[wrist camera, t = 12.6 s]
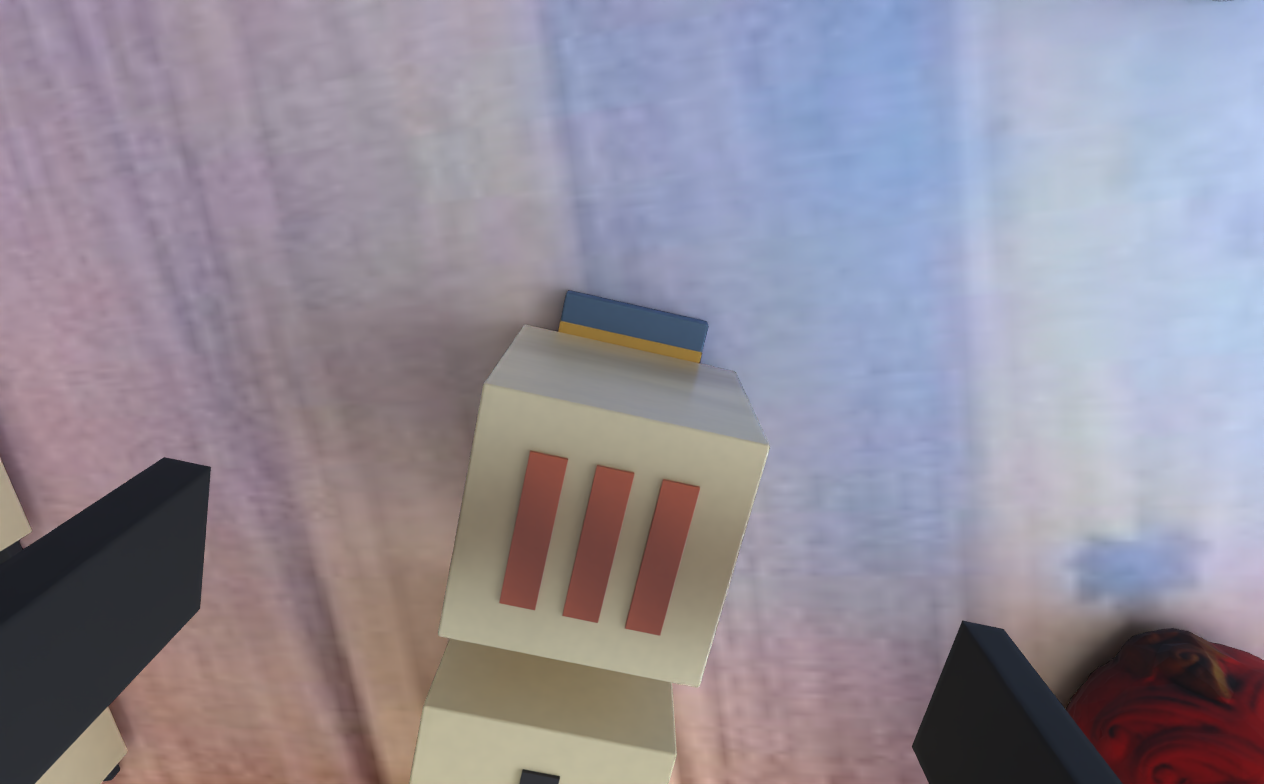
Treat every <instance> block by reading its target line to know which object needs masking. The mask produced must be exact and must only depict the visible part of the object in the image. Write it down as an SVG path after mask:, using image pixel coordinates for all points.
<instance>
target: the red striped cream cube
mask: <svg viewBox="0 0 1264 784" xmlns="http://www.w3.org/2000/svg"><path fill="white" fill-rule="evenodd" d="M769 449H770V445H769V443H768V441H767V438H766V436H765V434H764V432H763V430H762V428H761V426H760V423H759V421H758V419H757V417H756V415H755V413H754V411H753V408H752V406H751V404H750V402H749V400H748V398H747V396H746V393H745V391H744V389H743V387H742V385H741V383H740V380H739V378H738V376H737V374H736V372H735V371H731V370H727V369H722V368H718V367H713V366H709V365H705V364H700V363H696V362H691V361H687V360H682V359H678V358H673V357H669V356H664V355H660V354H655V353H651V352H646V351H642V350H637V349H633V348H628V347H624V346H619V345H615V344H610V343H606V342H602V341H597V340H593V339H588V338H584V337H579V336H575V335H570V334H566V333H561V332H557V331H552V330H548V329H543V328H539V327H534V326H530V325H524V326H523V327H522V329H521V330H520V332H519V333H518V335H517V336H516V337H515V339H514V340H513V342H512V343H511V345H510V346H509V348H508V349H507V351H506V352H505V353H504V355H503V356H502V358H501V359H500V361H499V362H498V364H497V365H496V367H495V368H494V369H493V371H492V372H491V374H490V375H489V377H488V378H487V380H486V381H485V383H484V384H483V387H482V393H481V398H480V404H479V409H478V415H477V420H476V426H475V431H474V437H473V442H472V448H471V453H470V459H469V464H468V470H467V475H466V481H465V486H464V492H463V497H462V503H461V509H460V514H459V520H458V525H457V531H456V536H455V542H454V547H453V553H452V558H451V564H450V569H449V575H448V580H447V586H446V591H445V597H444V602H443V608H442V613H441V619H440V624H439V630H438V635H439V636H441V637H446V638H451V639H456V640H461V641H466V642H471V643H476V644H481V645H486V646H491V647H496V648H501V649H506V650H511V651H516V652H521V653H526V654H531V655H536V656H541V657H546V658H551V659H556V660H561V661H566V662H571V663H576V664H581V665H586V666H591V667H596V668H602V669H607V670H612V671H617V672H622V673H627V674H632V675H637V676H642V677H647V678H652V679H657V680H662V681H667V682H672V683H677V684H682V685H687V686H692V687H699V686H700V683H701V680H702V677H703V673H704V670H705V666H706V663H707V660H708V656H709V653H710V649H711V646H712V643H713V639H714V636H715V632H716V629H717V626H718V622H719V619H720V615H721V612H722V609H723V605H724V602H725V598H726V595H727V592H728V588H729V585H730V582H731V578H732V575H733V571H734V568H735V565H736V561H737V558H738V554H739V551H740V548H741V544H742V541H743V537H744V534H745V531H746V527H747V524H748V520H749V517H750V514H751V510H752V507H753V503H754V500H755V497H756V493H757V490H758V486H759V483H760V480H761V476H762V473H763V469H764V466H765V463H766V459H767V456H768V453H769Z"/></svg>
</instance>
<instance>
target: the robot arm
mask: <svg viewBox="0 0 1264 784" xmlns="http://www.w3.org/2000/svg"><path fill="white" fill-rule="evenodd" d="M210 471H211V467H209V466H204V465H199V464H194V463H190V462H185V461H180V460H175V459H170V458H165V457H164V458H162V459H161V460H159V461H158V462H156V463H155V464H153V465H151V466H150V467H148V468H147V469H145V470H144V471H142V472H141V473H139V474H138V475H136V476H135V477H133V478H132V479H130V480H129V481H127V482H126V483H124V484H122V485H121V486H119V487H118V488H116V489H115V490H113V491H112V492H110V493H109V494H107V495H106V496H104V497H103V498H101V499H100V500H98V501H97V502H95V503H94V504H92V505H90V506H89V507H87V508H86V509H84V510H83V511H81V512H80V513H78V514H77V515H75V516H74V517H72V518H71V519H69V520H68V521H66V522H65V523H63V524H61V525H60V526H58V527H57V528H55V529H54V530H52V531H51V532H49V533H48V534H46V535H45V536H43V537H42V538H40V539H39V540H37V541H36V542H34V543H32V544H31V545H29V546H28V547H26V548H25V549H23V550H22V551H20V552H19V553H17V554H16V555H14V556H13V557H11V558H10V559H8V560H7V561H5V562H3V563H2V564H0V784H35V783H36V782H37V781H38V780H39V779H40V778H41V777H42V776H43V775H44V774H45V773H46V771H47V770H48V769H49V768H50V767H51V766H52V765H53V764H54V763H55V762H56V761H57V760H58V759H59V758H60V757H61V756H62V755H63V753H64V752H65V751H66V750H67V749H68V748H69V747H70V746H71V745H72V744H73V743H74V742H75V741H76V740H77V739H78V738H79V737H80V735H81V734H82V733H83V732H84V731H85V730H86V729H87V728H88V727H89V726H90V725H91V724H92V723H93V722H94V721H95V720H96V719H97V717H98V716H99V715H100V714H101V713H102V712H103V711H104V710H105V709H106V708H107V707H108V706H109V705H110V704H111V703H112V702H113V701H114V699H115V698H116V697H117V696H118V695H119V694H120V693H121V692H122V691H123V690H124V689H125V688H126V687H127V686H128V685H129V684H130V683H131V681H132V680H133V679H134V678H135V677H136V676H137V675H138V674H139V673H140V672H141V671H142V670H143V669H144V668H145V667H146V666H147V665H148V663H149V662H150V661H151V660H152V659H153V658H154V657H155V656H156V655H157V654H158V653H159V652H160V651H161V650H162V649H163V648H164V646H165V645H166V644H167V643H168V642H169V641H170V640H171V639H172V638H173V637H174V636H175V635H176V634H177V633H178V632H179V631H180V630H181V628H182V627H183V626H184V625H185V624H186V623H187V622H188V621H189V620H190V619H191V618H192V617H193V616H194V615H195V614H196V613H197V612H198V610H199V609H200V602H201V589H202V576H203V563H204V550H205V537H206V524H207V510H208V497H209V484H210ZM912 748H913V750H914V752H915V754H916V756H917V759H918V761H919V763H920V765H921V767H922V769H923V771H924V774H925V776H926V778H927V780H928V782H929V784H1123V783H1122V782H1121V781H1120V779H1119V778H1118V777H1117V776H1116V774H1115V773H1114V772H1113V770H1112V769H1111V768H1110V766H1109V765H1108V764H1107V763H1106V761H1105V760H1104V759H1103V757H1102V756H1101V755H1100V754H1099V752H1098V751H1097V750H1096V748H1095V747H1094V746H1093V744H1092V743H1091V742H1090V741H1089V739H1088V738H1087V737H1086V735H1085V734H1084V733H1083V731H1082V730H1081V729H1080V728H1079V726H1078V725H1077V724H1076V722H1075V721H1074V720H1073V719H1072V717H1071V716H1070V715H1069V713H1068V712H1067V711H1066V709H1065V708H1064V707H1063V706H1062V704H1061V703H1060V702H1059V700H1058V699H1057V698H1056V696H1055V695H1054V694H1053V693H1052V691H1051V690H1050V689H1049V687H1048V686H1047V685H1046V684H1045V682H1044V681H1043V680H1042V678H1041V677H1040V676H1039V674H1038V673H1037V672H1036V671H1035V669H1034V668H1033V667H1032V665H1031V664H1030V663H1029V661H1028V660H1027V659H1026V658H1025V656H1024V655H1023V654H1022V652H1021V651H1020V650H1019V649H1018V647H1017V646H1016V645H1015V643H1014V642H1013V641H1012V639H1011V638H1010V637H1009V636H1008V634H1007V633H1006V632H1005V630H1004V629H1001V628H996V627H991V626H986V625H981V624H976V623H971V622H967V621H962V623H961V625H960V628H959V630H958V633H957V635H956V638H955V640H954V643H953V645H952V648H951V650H950V653H949V655H948V658H947V660H946V663H945V665H944V668H943V670H942V673H941V675H940V678H939V680H938V683H937V685H936V688H935V690H934V693H933V695H932V698H931V700H930V703H929V705H928V708H927V710H926V713H925V715H924V717H923V720H922V722H921V725H920V727H919V730H918V732H917V735H916V737H915V740H914V742H913V745H912Z"/></svg>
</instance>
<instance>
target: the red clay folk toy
mask: <svg viewBox="0 0 1264 784" xmlns="http://www.w3.org/2000/svg"><path fill="white" fill-rule="evenodd" d="M1066 711H1067V712H1068V713H1069V715H1070V716H1071V717H1072V719H1073V720H1074V721H1075V722H1076V724H1077V725H1078V726H1079V728H1080V729H1081V730H1082V731H1083V733H1084V734H1085V735H1086V737H1087V738H1088V739H1089V741H1090V742H1091V743H1092V744H1093V746H1094V747H1095V748H1096V750H1097V751H1098V752H1099V754H1100V755H1101V756H1102V757H1103V759H1104V760H1105V761H1106V763H1107V764H1108V765H1109V766H1110V768H1111V769H1112V770H1113V772H1114V773H1115V774H1116V776H1117V777H1118V778H1119V779H1120V781H1121V782H1122V783H1123V784H1264V660H1262V659H1260V658H1258V657H1256V656H1254V655H1252V654H1250V653H1248V652H1245V651H1241V650H1238V649H1235V648H1231V647H1228V646H1225V645H1222V644H1217V643H1211V642H1208V641H1206V640H1205V639H1203V638H1201V637H1199V636H1197V635H1195V634H1193V633H1191V632H1189V631H1184V630H1179V629H1174V628H1170V629H1161V630H1157V631H1150V632H1144V633H1141V634H1138V635H1135V636H1132V637H1131V638H1130V639H1129V640H1128V641H1127V642H1126V643H1125V644H1124V645H1123V646H1122V648H1121V650H1120V651H1119V653H1118V654H1117V655H1116V657H1115V658H1113V659H1112V660H1111V661H1109V662H1108V663H1106V664H1105V665H1104V666H1099V667H1098V668H1097V669H1096V670H1095V671H1094V672H1093V673H1091V674H1090V676H1089V678H1088V680H1087V681H1086V682H1085V683H1084V684H1082V686H1081V687H1080V688H1079V689H1078V690H1077V692H1076V693H1075V694H1074V695H1073V697H1072V699H1071V701H1070V703H1069V704H1068V706H1067V708H1066Z"/></svg>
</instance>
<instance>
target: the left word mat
mask: <svg viewBox="0 0 1264 784" xmlns="http://www.w3.org/2000/svg"><path fill="white" fill-rule="evenodd" d="M31 532H32V529H31V527H30V525H29V523H28V520H27V518H26V516H25V513H24V511H23V509H22V507H21V504H20V502H19V500H18V497H17V495H16V493H15V491H14V488H13V486H12V484H11V481H10V479H9V477H8V475H7V472H6V470H5V468H4V466H3V463H2V461H1V459H0V564H2V563H3V562H5V561H7V560H8V559H10V558H11V557H13V556H14V555H16V554H17V553H19V552H20V551H22V547H21V545H20V543H19V541H18V540H20V539H21V538H23V537H25V536H26V535H28V534H29V533H31ZM126 753H127V748H126V746H125V743H124V741H123V739H122V736H121V734H120V732H119V730H118V727H117V725H116V723H115V721H114V718H113V716H112V714H111V711H110V709H109V707H107V708H106V709H105V710H104V711H103V712H102V713H101V714H100V715H99V716H98V717H97V719H96V720H95V721H94V722H93V723H92V724H91V725H90V726H89V727H88V728H87V729H86V730H85V731H84V732H83V733H82V734H81V735H80V737H79V738H78V739H77V740H76V741H75V742H74V743H73V744H72V745H71V746H70V747H69V748H68V749H67V750H66V751H65V752H64V753H63V755H62V756H61V757H60V758H59V759H58V760H57V761H56V762H55V763H54V764H53V765H52V766H51V767H50V768H49V769H48V770H47V771H46V773H45V774H44V775H43V776H42V777H41V778H40V779H39V780H38V781H37V782H36V783H35V784H101V782H102V781H109V780H112V779H113V778H114V777H115V776H116V774H117V773H118V772H119V771H120V768H119V765H118V763H119V762H120V760H121V759H122V758H123V757H124V756H125V755H126Z"/></svg>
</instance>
